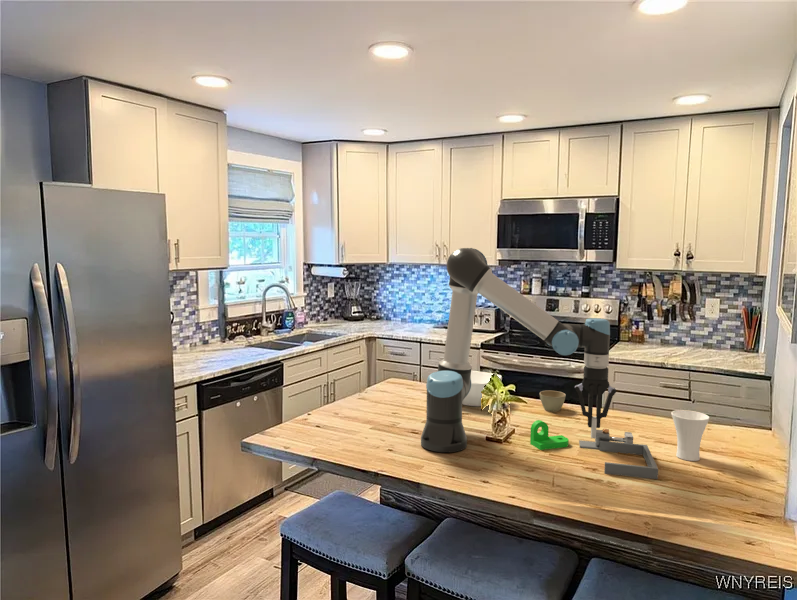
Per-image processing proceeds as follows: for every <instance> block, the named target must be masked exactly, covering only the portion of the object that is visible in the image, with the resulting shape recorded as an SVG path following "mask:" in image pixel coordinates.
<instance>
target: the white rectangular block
mask: <svg viewBox="0 0 797 600" xmlns="http://www.w3.org/2000/svg"><path fill="white" fill-rule="evenodd" d="M493 374H494V373H491V372H486V371H477V370H471V389H470V391H469V393H468V395H467V396H466V397H465V398H464V400H463V401H462V406H463V405H464V406H468V407H469V406H471V407H482V406H481V398H482V393H481V391H482V390H483V388H484V386H485V385H486V384H487V383H488V382H489V381H490V378H491V375H493ZM497 376H498V377H499V378H500V379H501V381H502V380H503V377H502V375H501V374H497Z"/></svg>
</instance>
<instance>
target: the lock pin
mask: <svg viewBox="0 0 797 600" xmlns="http://www.w3.org/2000/svg"><path fill="white" fill-rule="evenodd" d="M610 435H611V434H610V429H608V428H603V429H596V439H595V440H594V442H595V444H596V446H600V441H610V442H621V443H624V442H626V439H625V438H624V437H617V436H610Z"/></svg>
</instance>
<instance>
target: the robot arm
mask: <svg viewBox="0 0 797 600" xmlns="http://www.w3.org/2000/svg"><path fill="white" fill-rule="evenodd" d="M446 271H447V273H448V275H449V281H448V286H449V288H450V289H451V291H452V293H451V301H450V309H449V317H448V323H447V330H446V338H445V347H444V353H443V358H442V359H441V360H439V361H438V367H437V371H434V372H432V373H430V374H429V375H428V376H427V379H426V388H425V389H426V421H425V425H424V427H423V430H422V431H421V432H422V433H421V436H420V445H421V447H422V448H424V449H425V450H429V451H432V452H435V453H436V452H437V453H454V452H460V451H462V450H465V449H466V448H467V446H468V437H467V434H466V431H465V429H464V424H463V404H462V401H463V400H464V398H465V397H466V396H467V395H468V393H469V391H470V389H471V371H472V370H473V369H472V367H473V366H472V365H471V363H470V362H469V358H470V352H471V344H472V337H473V330H474V322H475V316H476V315H475V314H476V308H477V300H478V294H479V295H481V296H482V297H483V298H484V299H486V300H487V301H489V302H490V303H491V304H493V305H495V306H496V307H497V308H498V309H500V310H501V311H503V312H504V313H506V314H507V315H509V317H510V318H513V319H514V320H515V321H517V323H519V324H520V325H522V326H523V327H524V328H527V330H529V331H530V332H532V333H533V334H535V336H537V337H539V338H540V339H541V340H542V341H544V342H545V344H547V346H549V347H552V349H553V350H554V351H555V353H558V354H559V355H561V356H570V355H572V354H573V353H575V352H577V349H578V348H584V357H583V364H584V366H583V379H582V380H581V383H579V384H576V385H574V390H575V391H576V393H577V394H578V399H579V400H578V401H579V404H580V408H581V412H582V413H581V414H582V415H583V416H585V417H587V427H588V428H590V438H591V439H593V440H594V439H596V430H597V429H600V428H601V419H602V418H607V416H608V413H609V410H610V407H611V403H612V400H613V397H614V396H615V394H616V393H617V390H616V387H613V386H611V385H610V382H609V368H608V367H609V362H610V361H609V360H610V339H611V323H610V320H608V319H605V318H598V317H594V318H593V317H592V318H591V317H589V318H586V319H585V323H583V324H582V323H581V324H578V323H577V324H575V323H562V322H561V321H559V320H558V319H556V318H555V317H553V315H551V314H550V313H548V312H547V311H546V310H544V309H542V308H541V307H539V306H538V305H537V304H536V303H535V302H533V301H531V300H530V299H529V298H527V297H526V296H525V295H523V294H521V293H520V292H519V291H518V290H516V289H514V288H513V287H512V286H511V285H509V284H508V283H506V281H504V280H502V279H501V278H500V277H498V276H497V275H495V274H494V273H493V271H492V268H491V267H490V266H488V261H487V258H486V256H485V255H484V254H483V252H481V251H480V250H478V249H476V248H473V247H462V248H461V247H460V248H458V249H456V250H454V251H452V253H450V255H449V256H448V258H447V262H446ZM583 388H584V390H585V391H586V392H587V394H588V399H587V400H588V403H587V404H588V405H587V406H588V408H587V410H586V406H585V401H584V395H583V392H582V391H583ZM606 391H607V396H606V400H605V403H604V406H603V409H602V397H603V396H602V395H604V393H605V392H606ZM594 395H596V409H595V410H596V413H595V415H596V416H594V415H593V410H594V409H593V404H594Z"/></svg>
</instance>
